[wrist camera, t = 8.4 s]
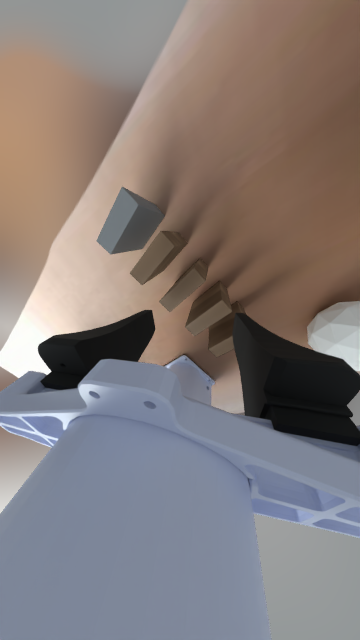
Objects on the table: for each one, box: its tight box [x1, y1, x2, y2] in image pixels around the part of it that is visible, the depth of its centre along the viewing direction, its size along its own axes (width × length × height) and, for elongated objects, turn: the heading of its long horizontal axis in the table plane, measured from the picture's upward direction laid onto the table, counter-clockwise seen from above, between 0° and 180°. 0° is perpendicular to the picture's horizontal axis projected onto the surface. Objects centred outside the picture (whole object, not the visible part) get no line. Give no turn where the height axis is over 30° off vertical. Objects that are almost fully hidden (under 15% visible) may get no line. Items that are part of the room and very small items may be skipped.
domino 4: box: [185, 281, 232, 336], centre depth 18 cm, size 2×5×7 cm, turn 135°
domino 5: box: [208, 302, 246, 357], centre depth 19 cm, size 2×5×7 cm, turn 135°
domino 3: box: [159, 258, 208, 312], centre depth 17 cm, size 2×5×7 cm, turn 135°
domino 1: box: [97, 187, 165, 254], centre depth 15 cm, size 2×5×7 cm, turn 136°
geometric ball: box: [307, 301, 360, 371], centre depth 16 cm, size 8×8×8 cm
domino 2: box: [130, 231, 188, 285], centre depth 16 cm, size 2×5×7 cm, turn 136°
